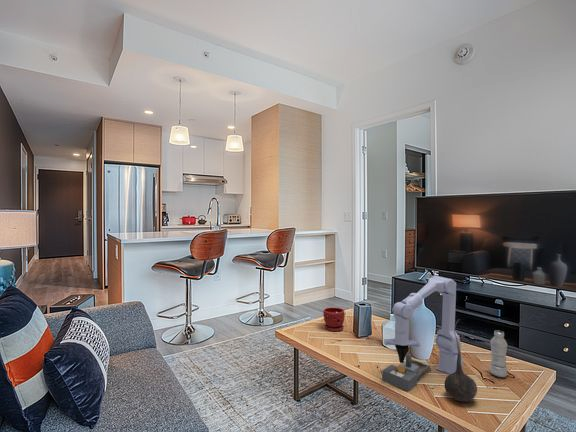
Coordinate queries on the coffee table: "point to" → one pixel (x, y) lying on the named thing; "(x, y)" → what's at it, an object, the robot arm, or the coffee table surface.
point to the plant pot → (334, 319)
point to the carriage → (408, 364)
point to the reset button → (401, 369)
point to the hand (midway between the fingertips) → (401, 362)
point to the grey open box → (399, 378)
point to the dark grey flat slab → (421, 369)
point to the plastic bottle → (498, 354)
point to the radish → (460, 382)
